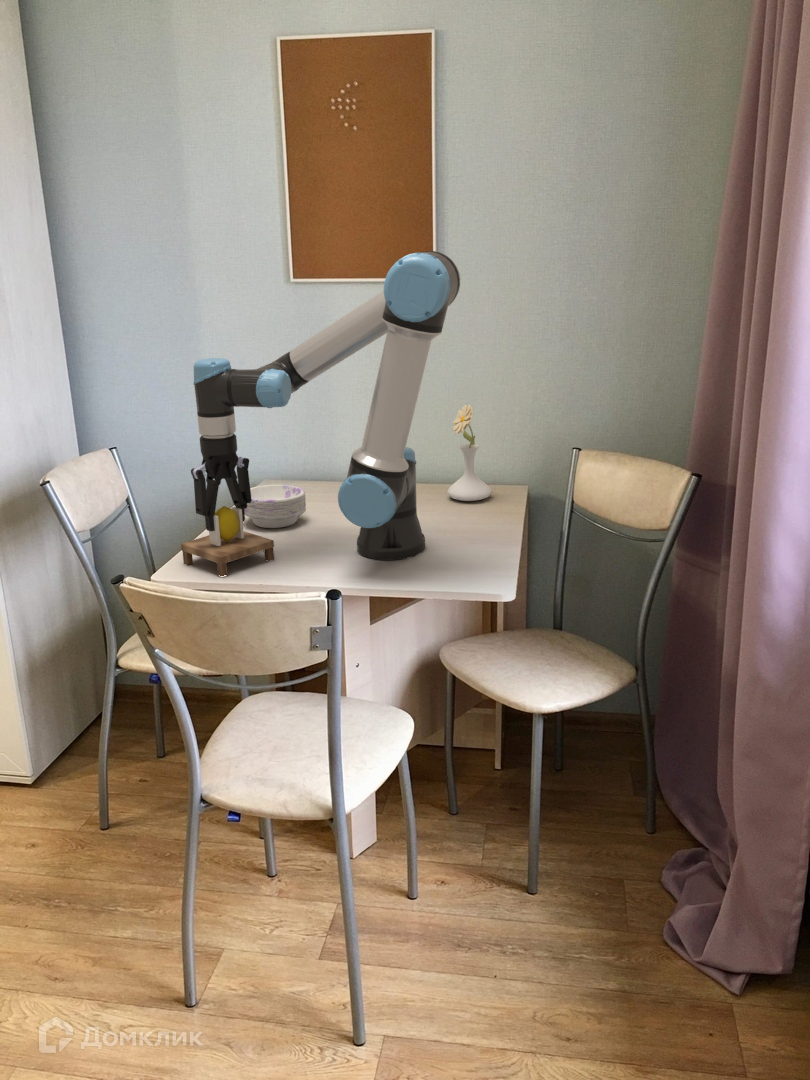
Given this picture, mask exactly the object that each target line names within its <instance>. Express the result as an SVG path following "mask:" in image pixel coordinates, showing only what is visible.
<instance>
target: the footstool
mask: <svg viewBox="0 0 810 1080" xmlns="http://www.w3.org/2000/svg"><path fill="white" fill-rule="evenodd" d="M220 541H221V545H220V546H216V545H213V544H210V536H209V534H208V535H206V536H201V537H199V538H195V539H193V540H189V541H186V542H183V543H180V546H181V547H180V548H181V551H182V560H183V565H185V564H186V565H185V566H190V565H193V564H194V560H193V558H194V557H193V555H194V556H196V557H200V558H202V559H205V560H207V561H211V562H213V563H216V570H217V576H218V575H220V576H224V575H227V576H228V567H227V566H228V565H227V564H228V563H230V562H233V561H236V560H240V559H242V558H245V557H248V556H251V555H254V554H256V553H260V552H262V551H264V560H265V561H267V562H271V561H274V560H275V553H274V548H275V541H274V539H272V538H268V537H264V536H261V535H257V534H253V533H251V532H248V531H245V530H244V538H242V539H241V538H237V537H233V538H232V539H230V541H229V542H226V541H224V540H223V539H220ZM192 563H193V564H192ZM189 564H190V565H189Z"/></svg>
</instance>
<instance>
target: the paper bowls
mask: <svg viewBox="0 0 810 1080" xmlns="http://www.w3.org/2000/svg"><path fill="white" fill-rule="evenodd" d="M250 491H251V499H252V501H251V503H247V505H248V506H247V508H246V509H244V513H245V517H249V518H250V519H251V521H252V522H253V524H254V525H255V526H257V527H260V528H263V529H264V528H265V529H281V528H285V527H290V526H293V524H295V523H296V522H297V521H298V519H299V516H302V515H303V514H304V513H305V512H306V511H307V509H306V508H307V507H306V506H307V503H306V502H307V501H306V500H307V499H306V491H305V489H303V488H301V487H299V486H296V485H290V484H264V485H258V486H254V487H250Z"/></svg>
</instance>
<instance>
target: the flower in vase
mask: <svg viewBox="0 0 810 1080" xmlns="http://www.w3.org/2000/svg"><path fill="white" fill-rule="evenodd" d="M473 415H474V410H473V406H472V405H471V404H470V403H469V404H468V405H467V404H465V405H464V406H462V407H461V409H459V410H457V414H456V416H455V417H456V418H455V419H454V420H453V427H452V431H453V432H455V435H458V434H460V433H461V434H462V436H463V438H464V439H465V440H466V441H468V442H469V443H463V444H460V445H459V446H458V448H459V449H460V450H461V452H462V454H463V458H464V473H463V475H462V476H461V477H460V478H459V479H458V480H456V481H455V482H453V483H452V484H451V485H450V487H448V490H447V495H448V496H449V497H450V498H451V499H454V500H457V501H465V502H474V501H480V500H485V499H486V498H488V497H489V498H490V496H491V494H492V493H493V491H492V489H491V487H490V486H489V485H488V484H487V483H486V482H484V481H483V480H482V479H480V478H479V477H478V476H477V475H476V473H475V467H474V466H475V465H474V464H475V456H476V452H477V450H478V449H479V448H480V445H479V444H476V442H475V440H476V439H475V438H476V435H474V432H473V429H472V427H471V425H470V423H471V422H472V418H473ZM468 427H469V429H470V432H471V435H470V434H469V433H468V432H467V431H466V429H467V428H468Z"/></svg>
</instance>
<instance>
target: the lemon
mask: <svg viewBox="0 0 810 1080" xmlns="http://www.w3.org/2000/svg"><path fill="white" fill-rule="evenodd" d="M215 515H217V516H218V520H219V530H220V539H223V540H224V541H226V542H229V541H230V539H232V538H233V537H235V536H236V534H237V532H238V529H239V521H238V518H237V515H236V513H235V512H234V511H233V510H232V509H231V507H227V506H226V505H224V506H221V507H220V508H219V509H217V510H215Z"/></svg>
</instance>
